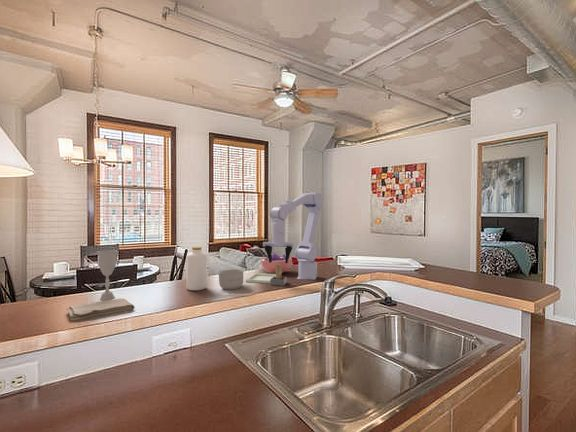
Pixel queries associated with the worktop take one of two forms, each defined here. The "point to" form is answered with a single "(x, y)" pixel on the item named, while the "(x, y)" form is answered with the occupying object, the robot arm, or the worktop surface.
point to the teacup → (231, 278)
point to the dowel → (278, 271)
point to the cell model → (275, 260)
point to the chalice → (107, 269)
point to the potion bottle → (196, 269)
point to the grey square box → (278, 281)
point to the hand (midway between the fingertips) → (278, 262)
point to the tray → (260, 278)
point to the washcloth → (99, 309)
